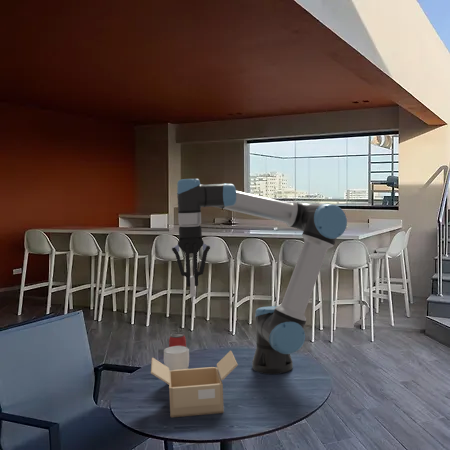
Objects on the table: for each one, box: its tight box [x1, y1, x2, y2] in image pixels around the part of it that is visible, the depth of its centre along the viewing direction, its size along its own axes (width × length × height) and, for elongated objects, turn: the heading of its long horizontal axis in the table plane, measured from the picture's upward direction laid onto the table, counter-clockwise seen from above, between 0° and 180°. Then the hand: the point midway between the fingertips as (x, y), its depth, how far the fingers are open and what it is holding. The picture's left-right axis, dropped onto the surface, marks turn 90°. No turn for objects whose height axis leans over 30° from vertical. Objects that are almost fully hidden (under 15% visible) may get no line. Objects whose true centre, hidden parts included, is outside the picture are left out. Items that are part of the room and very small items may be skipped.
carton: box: [168, 366, 225, 419], centre depth 160 cm, size 16×16×9 cm
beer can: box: [168, 332, 187, 347], centre depth 198 cm, size 7×7×12 cm
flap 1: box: [150, 357, 170, 385], centre depth 158 cm, size 1×14×6 cm
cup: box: [163, 346, 190, 371], centre depth 179 cm, size 9×9×12 cm
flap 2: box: [216, 350, 239, 381], centre depth 160 cm, size 1×14×6 cm
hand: (192, 295), depth 170 cm, fingers closed
